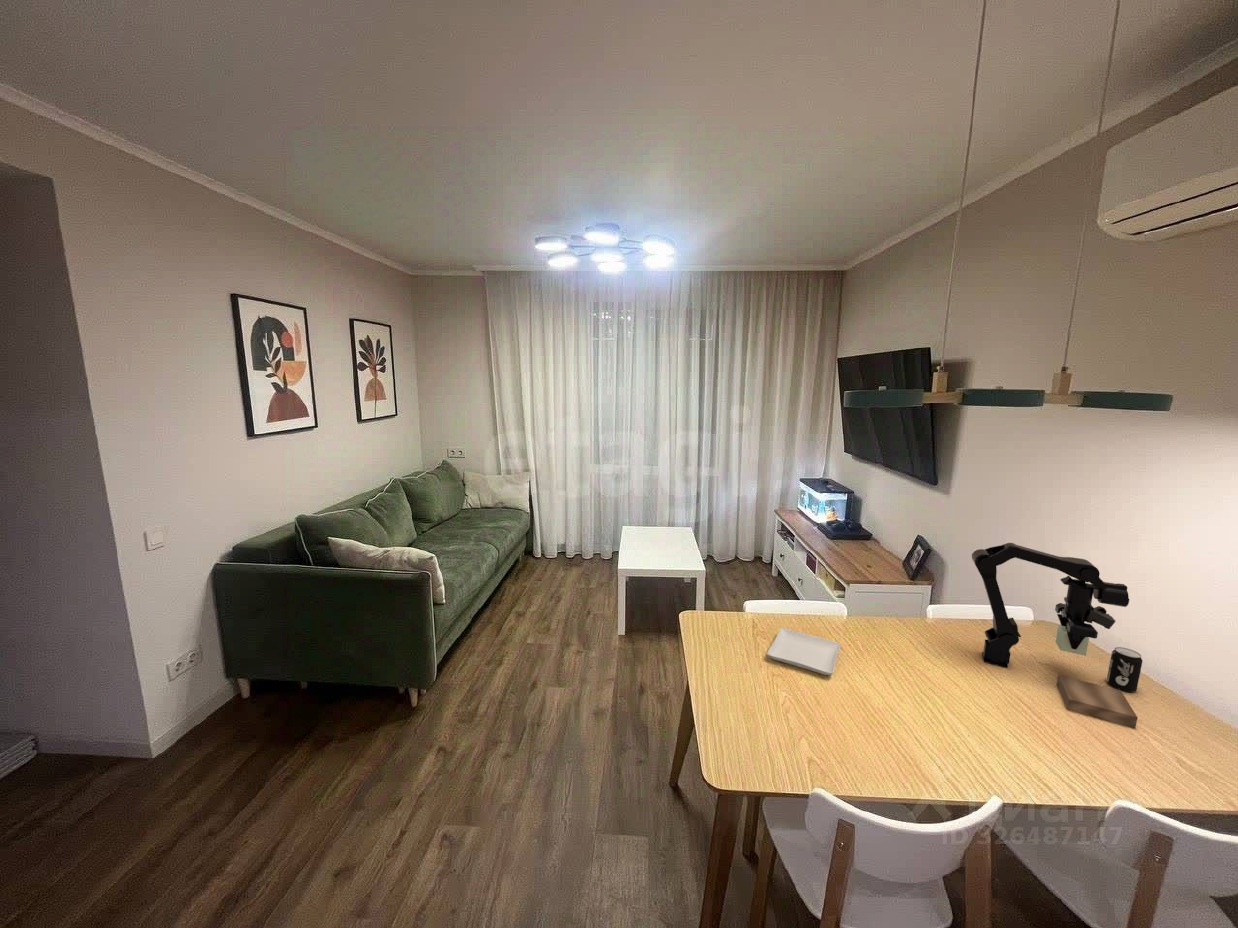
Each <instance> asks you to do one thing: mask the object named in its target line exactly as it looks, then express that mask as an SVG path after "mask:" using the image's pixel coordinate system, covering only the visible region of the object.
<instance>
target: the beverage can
mask: <svg viewBox="0 0 1238 928" xmlns="http://www.w3.org/2000/svg"><path fill="white" fill-rule="evenodd" d="M1110 655H1111V656H1110V660H1109V665H1108V670H1107V675H1106V681H1107V683H1108V685H1110V686H1111V688H1112V687H1113V688H1114V689H1118V690H1121V692H1122V691H1123V692H1125V693H1126V692H1127V693H1133V692H1135V691H1137V689H1138V686H1139V680H1140V676H1141V671H1142V670H1141V669H1142V665H1143V659H1142V654H1141V653H1140V652H1138V651H1136V650H1133V649H1130V648H1128V647H1122V646H1115V647H1114V650H1112V651H1111V654H1110Z"/></svg>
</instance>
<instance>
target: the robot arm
mask: <svg viewBox="0 0 1238 928" xmlns="http://www.w3.org/2000/svg"><path fill="white" fill-rule="evenodd" d="M1015 558H1016V559H1018V560H1021V561H1026V562H1029V563H1032V564H1036V565H1040V566H1043V567H1046V568H1050V569H1052V570H1053V569H1054V570H1057V571H1059V572H1062V573H1064V574H1065V575H1067V576H1065V577H1062V578H1061V579H1060V582H1061V583H1062V584H1063V585H1064V586H1067V592H1066V596H1064V597H1063V601H1064V602H1065V603H1063V602H1059V603H1057V604H1055V609H1054V610H1055V612H1056V613H1057V614H1056V615H1057V618H1058V620H1059V625H1061V626H1066V627H1065V629H1066V632H1067V635H1068V639H1069V642H1070V645H1071V648H1072V649H1077V648H1078V646H1079V645H1080V643H1081V642H1082V641H1083V639H1084V638H1085V637H1088V638H1089V639H1098V634H1099V632H1098V631H1097V629H1096V628H1095V627H1094V626H1093V625H1092V624H1093V623H1096V625H1097V624H1098V625H1100V626H1101V627H1104V628H1105V629H1107V630H1110V629H1111V628H1112V627H1113V626H1114V624H1115V623H1116V622H1117V621H1116V619H1115V618H1114V617H1113V616H1111V615H1110V614H1108V613H1107V609H1106V608H1105V607H1102V606H1101V605H1099V606H1095V607H1093V605H1092V601H1093V599H1096V600H1097V601H1098V603H1100V604H1104V605H1110V606H1115V607H1122V608H1123V607H1124V608H1126V607H1128V606H1129V604H1130V603H1129V602H1130V597H1129V591H1128V586H1127V585H1125V584H1124V583H1114V582H1113V583H1112V582H1106V581H1103V579H1101V577H1100V570H1099V569H1098V567H1097V566H1095V565H1094V564H1093V563H1092V562H1090V561H1089V560H1087V559H1085V558H1079V557H1071V556H1058V555H1054V554H1051V553H1046V552H1044V551H1041V550H1037V549H1034V548H1029V547H1026V546H1023V545H1019V544H1016V543H1013V542H1007V543H1004V544H1001V545H1000V544H999V545H995V546H991V547H988V548H985V549H983V548H982V549H981V548H980V549H976V550H975V551H973V552H972V553H971V559H972V561H973V563H974V566H975V567H976V569H977V571H978V572H979V574H980V576H981V578H982V582H983V585H984V589H985V591H986V592H985V593H986V595H987V599H988V602H989V605H990V609H991V613H992V626H993V627H991V628H989V629H987V630H985V631H984V633H985V635H984V636H985V637H986V638H985V639H984V642H983V643H984V644H983V650H982V651H981V655H982V660H983V662H984V663H987V664H991V665H996V666H998V667H999V666H1000V667H1003V668H1008V667H1009V666H1008V665H1009V664H1010V660H1011V655H1012V654H1011V648H1012V647H1013V646H1015V645H1017V644H1018V643H1020V638H1022V635H1021V634H1020V632H1019V628H1018V627H1019V626H1018V624H1017V622H1016V621H1015V619H1014V617H1009V615H1008V613H1007V610H1006V606H1005V603H1004V600H1003V596H1002V593H1001V590H1000V586H999V583H998V580H997V579H998V578H997V573H998V572H997V571H998V570H997V569H998V568H997V567H998V566H1000V565H1002V564H1004V563H1006V562H1008V561H1011V560H1012V559H1015Z"/></svg>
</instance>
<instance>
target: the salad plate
mask: <svg viewBox="0 0 1238 928" xmlns="http://www.w3.org/2000/svg"><path fill="white" fill-rule="evenodd" d="M841 646H842V645H841V644H840V642H837V641H833V640H830V639H826V638H823V637H819V636H815V635H812V634H808V633H804V632H801V631H797V630H792V629H789V628H787V627H786V628H785V627H780V629H779V630H778V633H777V635H776V636H775V639H774V640H773V642H772V644H771V645H770V647H769V649H768V650H767V653H766V654H767V656H768V657H769V658H771V659H773V660H776V661H778V662H780V663H781V662H782V663H786V664H789V665H791V666H796V667H797V668H802V669H805V670H808V671H812V672H815V673H817V674H822V675H826V676H830V675H833V674H834V671H835V667H836V664H837V659H838V655H839V652H840V649H841Z"/></svg>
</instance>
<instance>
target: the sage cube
mask: <svg viewBox="0 0 1238 928" xmlns="http://www.w3.org/2000/svg"><path fill="white" fill-rule="evenodd" d="M1057 626H1058V627H1057V631H1056V637H1055V638H1056V639H1055V643H1056V646H1057V647H1058V649H1059V651H1062V652H1067V653H1072V654H1075V655H1080V656H1083V657H1084V656H1085V657H1086V656H1087V651H1088V647H1089V640H1090V637H1085V638H1084V639H1083V641H1082V642H1081V643H1080V645H1079V646H1078V648H1077V649H1072V648H1071V645H1070V642H1069V639H1068V635H1067V632H1066V629H1065V627H1066V626H1061V624H1059V625H1057Z"/></svg>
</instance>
